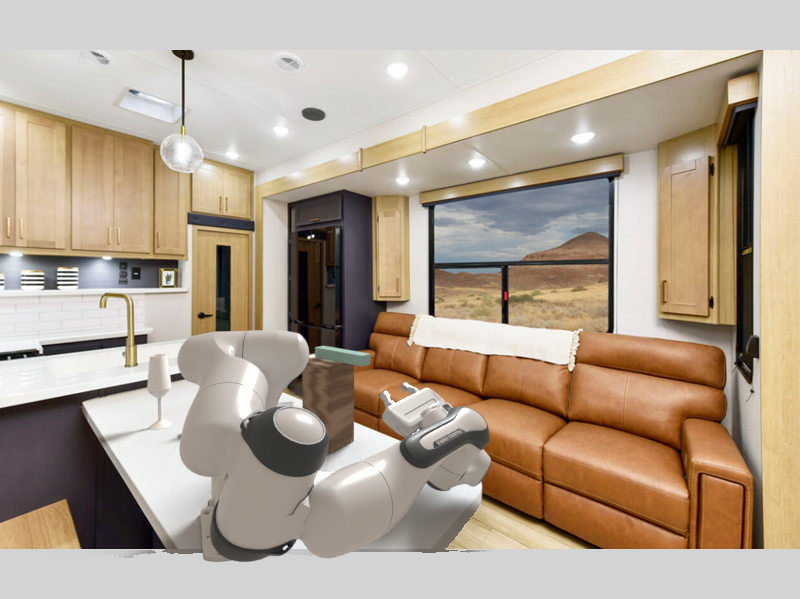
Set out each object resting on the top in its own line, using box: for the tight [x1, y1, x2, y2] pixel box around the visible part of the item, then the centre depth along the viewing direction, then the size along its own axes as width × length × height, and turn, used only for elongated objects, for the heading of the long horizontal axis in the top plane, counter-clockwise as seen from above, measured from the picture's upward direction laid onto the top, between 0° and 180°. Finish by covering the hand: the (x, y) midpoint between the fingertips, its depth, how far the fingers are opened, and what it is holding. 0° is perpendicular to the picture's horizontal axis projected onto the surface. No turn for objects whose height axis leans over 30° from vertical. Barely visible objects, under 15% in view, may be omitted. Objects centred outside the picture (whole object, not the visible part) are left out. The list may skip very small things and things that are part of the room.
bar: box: [314, 345, 372, 367], centre depth 103 cm, size 19×4×3 cm, turn 56°
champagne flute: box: [146, 353, 173, 431], centre depth 117 cm, size 7×7×24 cm
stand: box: [301, 353, 355, 455], centre depth 107 cm, size 15×14×26 cm
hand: (393, 388), depth 93 cm, fingers open, 8 cm apart
